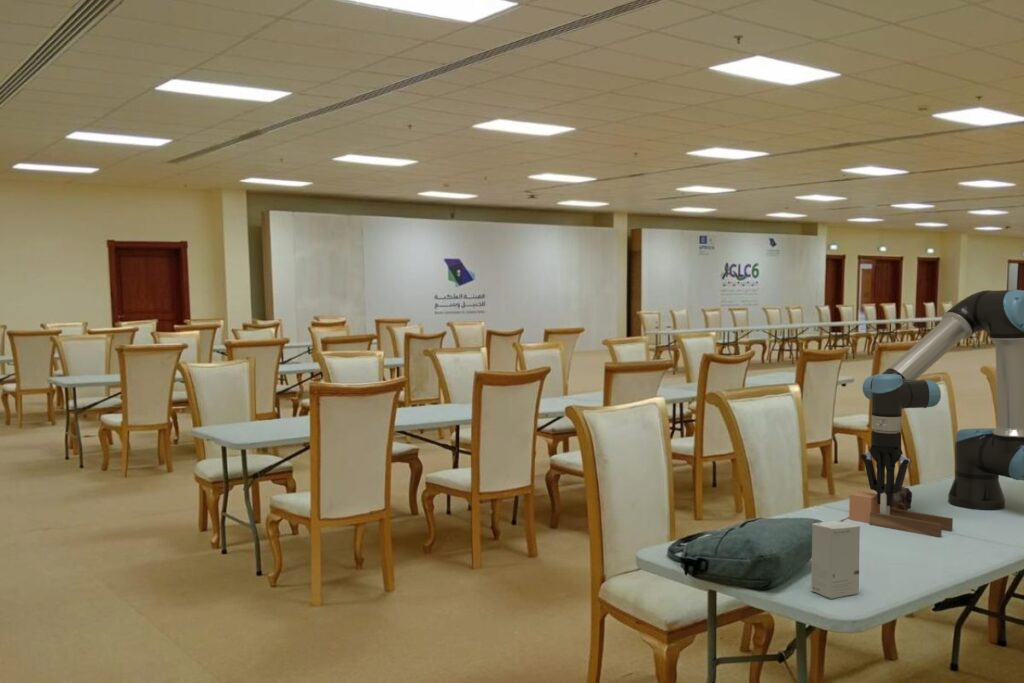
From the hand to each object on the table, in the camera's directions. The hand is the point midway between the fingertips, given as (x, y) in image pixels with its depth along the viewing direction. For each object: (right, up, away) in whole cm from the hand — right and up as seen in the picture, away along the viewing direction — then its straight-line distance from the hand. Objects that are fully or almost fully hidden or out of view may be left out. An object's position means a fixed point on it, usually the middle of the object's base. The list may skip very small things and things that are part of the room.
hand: (884, 516), depth 235 cm
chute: (+2, -3, -2) cm, 4 cm away
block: (-4, -2, +4) cm, 6 cm away
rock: (+10, -2, +17) cm, 20 cm away
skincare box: (-33, -6, -52) cm, 62 cm away
